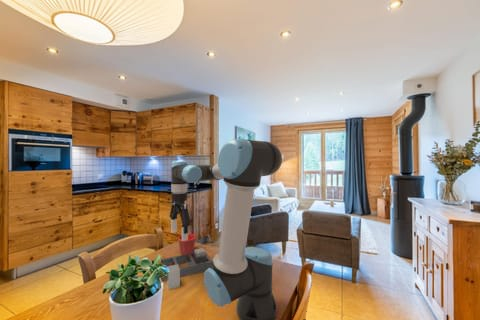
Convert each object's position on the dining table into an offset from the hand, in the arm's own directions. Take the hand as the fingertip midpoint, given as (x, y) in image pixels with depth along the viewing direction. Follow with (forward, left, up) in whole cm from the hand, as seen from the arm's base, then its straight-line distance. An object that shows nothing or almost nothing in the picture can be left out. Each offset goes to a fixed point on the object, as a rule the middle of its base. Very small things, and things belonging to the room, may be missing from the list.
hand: (179, 236), depth 102 cm
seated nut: (+8, -13, -21) cm, 25 cm away
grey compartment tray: (+8, -4, -21) cm, 22 cm away
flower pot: (+27, -10, -21) cm, 36 cm away
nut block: (-5, +3, -21) cm, 21 cm away
